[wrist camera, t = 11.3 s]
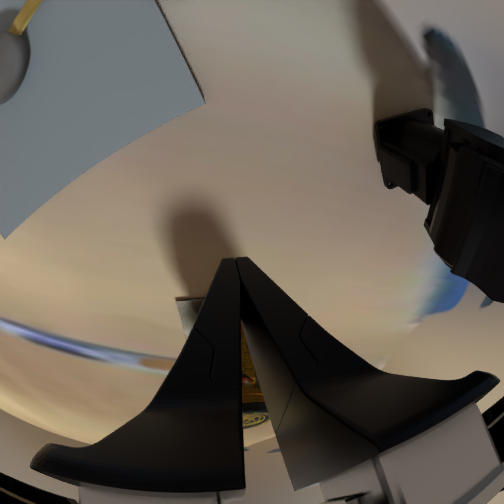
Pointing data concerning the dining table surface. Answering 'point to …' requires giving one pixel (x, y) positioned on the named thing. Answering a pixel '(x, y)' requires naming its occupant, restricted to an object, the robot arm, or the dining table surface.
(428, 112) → the robot arm
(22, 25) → the brown piece
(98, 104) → the stand
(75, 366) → the dining table surface
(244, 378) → the condiment
